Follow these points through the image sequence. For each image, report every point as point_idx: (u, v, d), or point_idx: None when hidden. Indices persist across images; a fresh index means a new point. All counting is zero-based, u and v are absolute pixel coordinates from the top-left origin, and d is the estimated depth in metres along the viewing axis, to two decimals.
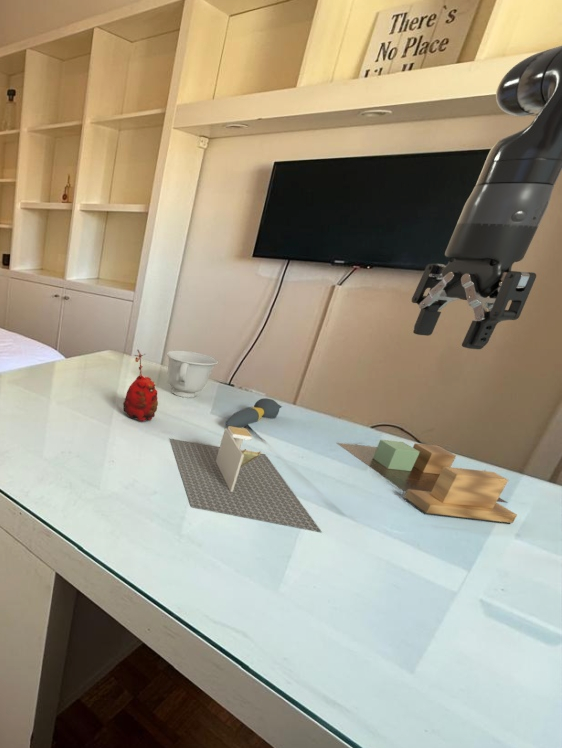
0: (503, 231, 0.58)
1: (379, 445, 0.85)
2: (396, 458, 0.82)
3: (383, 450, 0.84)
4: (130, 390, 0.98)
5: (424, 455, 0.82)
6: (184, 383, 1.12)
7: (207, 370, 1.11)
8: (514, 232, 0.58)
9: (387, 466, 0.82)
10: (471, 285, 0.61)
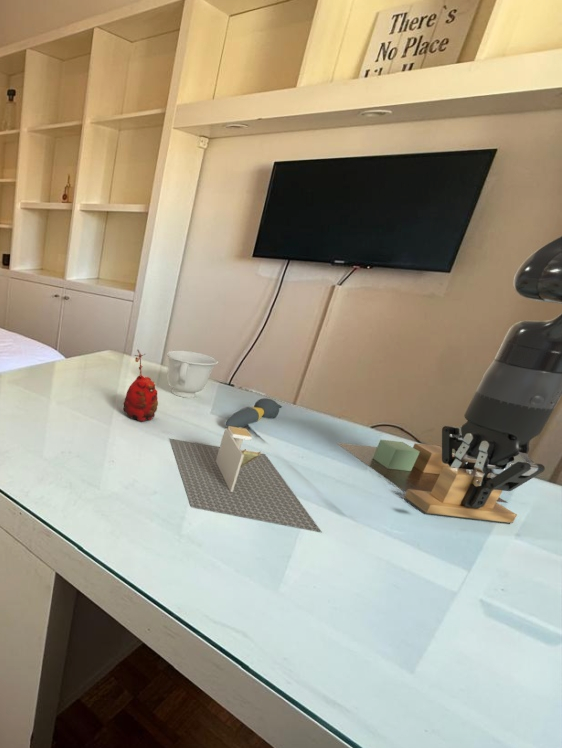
0: (521, 411, 0.61)
1: (379, 445, 0.85)
2: (396, 458, 0.82)
3: (383, 450, 0.84)
4: (130, 390, 0.98)
5: (424, 455, 0.82)
6: (184, 383, 1.12)
7: (207, 370, 1.11)
8: (532, 413, 0.61)
9: (387, 466, 0.82)
10: (485, 454, 0.65)
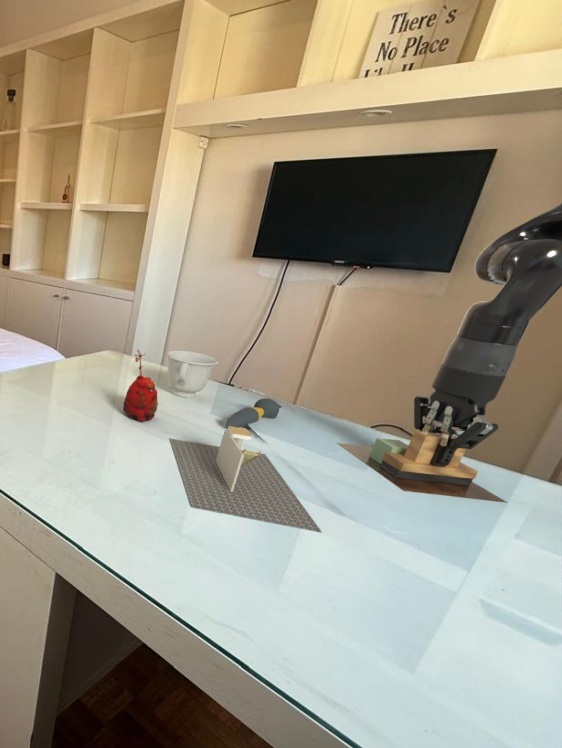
0: (478, 379, 0.71)
1: (376, 443, 0.85)
2: None
3: (380, 449, 0.84)
4: (130, 390, 0.98)
5: None
6: (184, 383, 1.12)
7: (207, 370, 1.11)
8: (487, 380, 0.71)
9: None
10: (449, 418, 0.75)
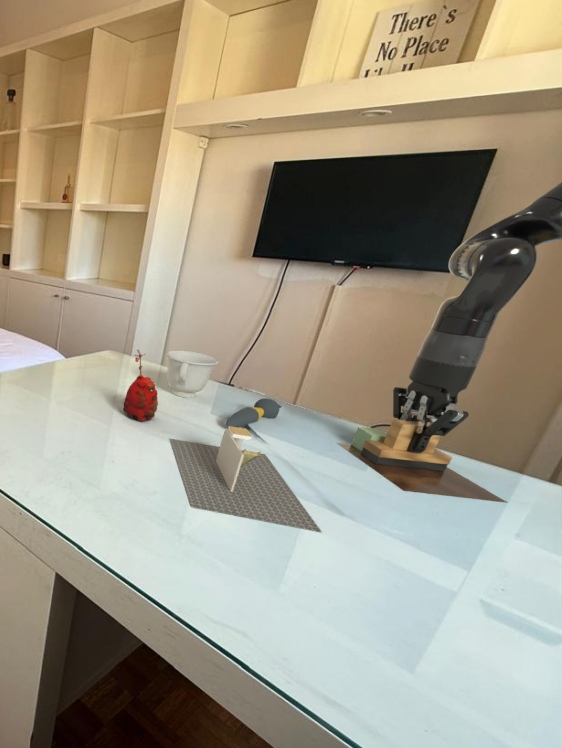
0: (450, 369, 0.76)
1: (357, 432, 0.90)
2: None
3: (360, 437, 0.89)
4: (130, 390, 0.98)
5: None
6: (184, 383, 1.12)
7: (207, 370, 1.11)
8: (458, 371, 0.75)
9: None
10: (424, 407, 0.80)
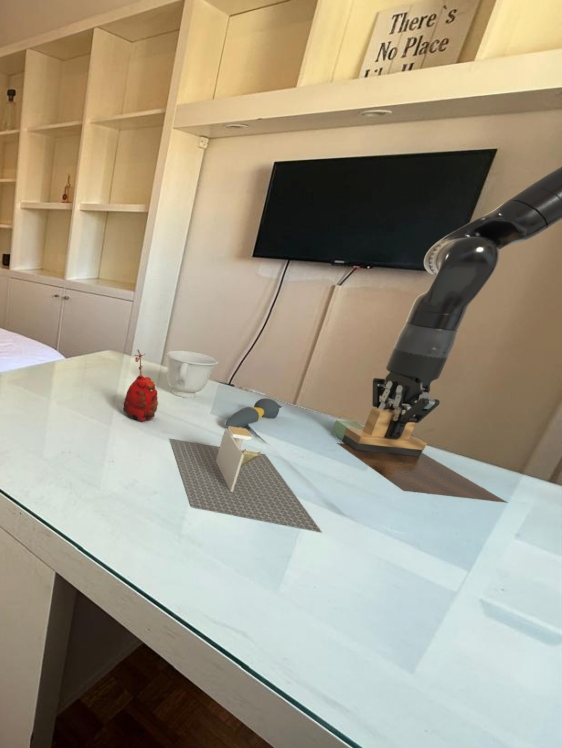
0: (423, 360, 0.81)
1: None
2: (344, 423, 0.95)
3: (336, 432, 0.96)
4: (130, 390, 0.98)
5: None
6: (184, 383, 1.12)
7: (207, 370, 1.11)
8: (430, 361, 0.81)
9: (347, 427, 0.93)
10: (400, 395, 0.85)
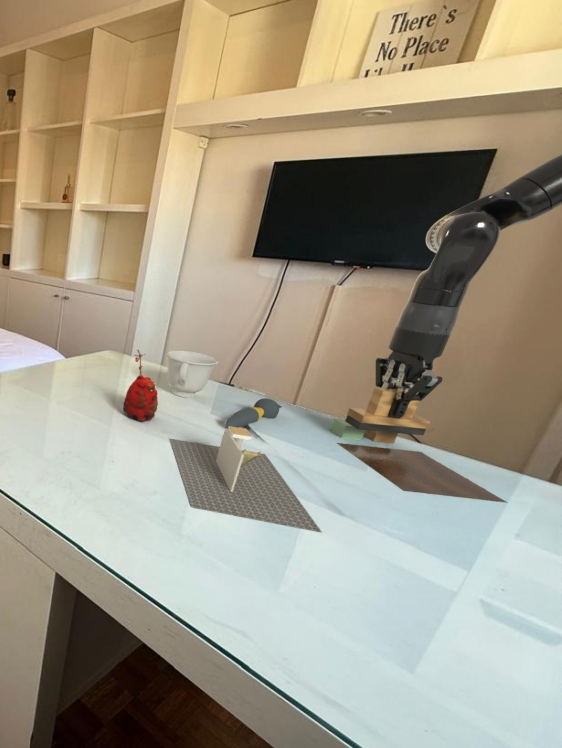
0: (425, 337, 0.81)
1: None
2: (342, 421, 0.95)
3: (334, 430, 0.97)
4: (130, 390, 0.98)
5: None
6: (184, 383, 1.12)
7: (207, 370, 1.11)
8: (433, 338, 0.81)
9: (344, 425, 0.94)
10: (403, 374, 0.85)
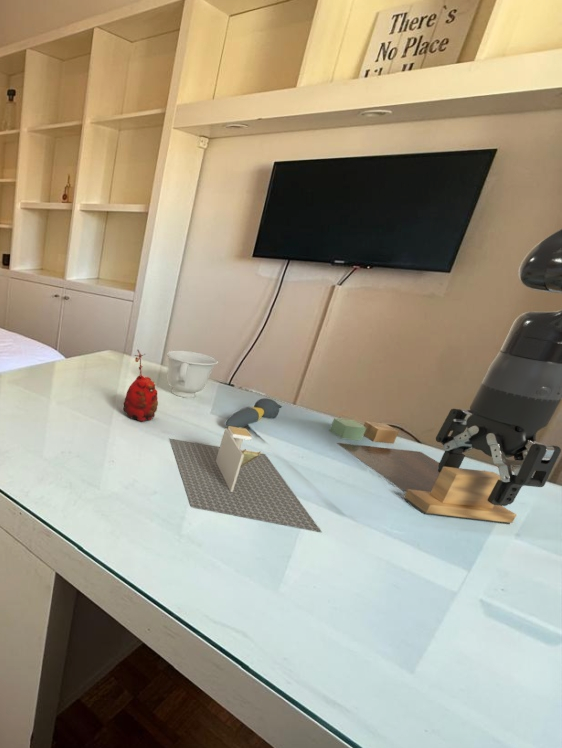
0: (528, 403, 0.61)
1: None
2: (342, 421, 0.95)
3: (334, 430, 0.97)
4: (130, 390, 0.98)
5: (366, 428, 0.96)
6: (184, 383, 1.12)
7: (207, 370, 1.11)
8: (539, 405, 0.60)
9: (344, 425, 0.94)
10: (497, 446, 0.64)
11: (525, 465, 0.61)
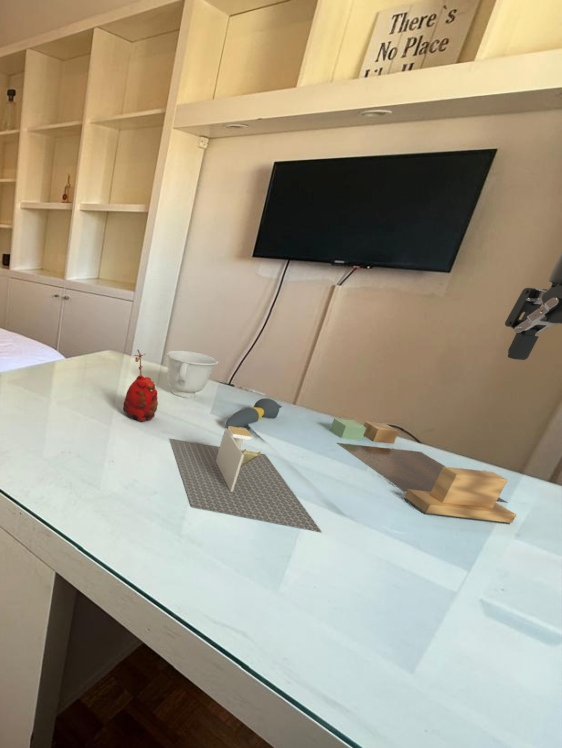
0: None
1: None
2: (342, 421, 0.95)
3: (334, 430, 0.97)
4: (130, 390, 0.98)
5: (366, 428, 0.96)
6: (184, 383, 1.12)
7: (207, 370, 1.11)
8: None
9: (344, 425, 0.94)
10: None
11: None
